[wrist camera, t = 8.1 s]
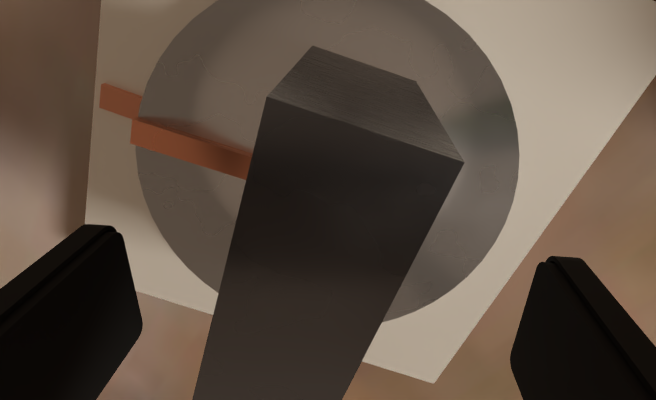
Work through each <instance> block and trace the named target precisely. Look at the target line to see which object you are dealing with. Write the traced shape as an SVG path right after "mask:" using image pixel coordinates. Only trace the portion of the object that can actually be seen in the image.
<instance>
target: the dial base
mask: <svg viewBox="0 0 656 400" xmlns="http://www.w3.org/2000/svg"><path fill="white" fill-rule="evenodd" d="M216 1H218V0H101V9H100V23H99V37H98V50H97V64H96V78H95V91H94V105H93V118H92V132H91V146H90V159H89V173H88V186H87V200H86V214H85V224H96V225H110V226H113V227H114V228H115V229H116V231H117V232H119V233H121V234H122V236H123V238H124V242H125V247H126V251H127V256H128V260H129V264H130V269H131V273H132V278H133V282H134V286H135V291H138V292H141V293H144V294H147V295H151V296H154V297H157V298H160V299H163V300H167V301H170V302H173V303H176V304H179V305H183V306H186V307H189V308H192V309H196V310H199V311H202V312H205V313H208V314H212V315H213V314H214V310H215V306H216V301H217V297H218V293H217V292H216V291H215V290H213V289H212V288H211V287H209V286H208V285H207V284H205V283H204V282H203V281H202V280H200V279H199V278H198V277H197V276H196V275H195V274H194V273H193V272H192V271H191V270H189V269H188V268H187V267H186V265H185V264H184V263H183V262H182V261H181V260H180V259H179V258H178V256H177V255H176V254H175V253H174V252H173V250H172V249H171V247H170V246H169V245H168V243H167V242H166V240H165V239H164V238H163V236H162V235H161V233H160V231H159V229H158V227H157V225H156V224H155V222H154V220H153V218H152V216H151V214H150V211H149V209H148V206H147V203H146V201H145V198H144V196H143V192H142V188H141V184H140V180H139V176H138V170H137V161H136V152H135V149H136V145H133V144H130V138H131V127H132V119H133V118H135V117H138V114H139V108H140V103H141V100H142V97H143V94H144V91H145V88H146V85H147V82H148V80H149V78H150V76H151V74H152V72H153V70H154V68H155V66H156V64H157V62H158V60H159V58H160V57H161V55H162V54H163V53H164V51H165V50H166V48H167V47H168V46H169V44H170V43H171V42H172V40H173V39H174V37H175V36H176V35H177V34H178V33H179V32H180V31H181V30H182V29H183V28H184V27H185V26H186V25H187V24H188V23H189V22H190V21H191V20H192V19H193V18H194V17H196V16H197V15H198V14H200V13H201V12H202V11H204V10H205V9H207V8H208V7H209V6H211V5H212V4H213V3H215V2H216ZM425 1H427V2H428V3H430V4H431V5H433V6H435V7H436V8H438V9H439V10H441V11H442V12H444V13H445V14H447V15H448V16H449V17H450V18H451V19H452V20H453V21H455V22H456V23H457V24H458V25H459V26H460V27H461V28H462V29H464V30H465V31H466V32H467V33H468V34H469V35H470V36H471V38H472V39H473V40H474V41H475V42H476V44H477V45H478V46H479V47H480V48H481V50H482V51H483V52H484V53H485V54H486V56H487V57H488V59H489V60H490V62H491V64H492V65H493V67H494V69H495V70H496V72H497V74H498V75H499V77H500V79H501V81H502V83H503V85H504V88H505V90H506V93H507V95H508V98H509V100H510V103H511V105H512V109H513V113H514V118H515V122H516V126H517V131H518V142H519V154H520V156H519V172H518V181H517V186H516V191H515V196H514V200H513V204H512V206H511V209H510V212H509V215H508V217H507V220H506V223H505V225H504V227H503V229H502V231H501V232H500V234H499V236H498V238H497V240H496V242H495V244H494V245H493V246H492V248H491V249H490V251H489V252H488V253H487V255H486V256H485V258H484V259H483V260H482V262H481V263H480V264H479V265H478V266H477V267H476V268H475V269H474V270H473V271H472V272H471V273H470V275H469V276H468V277H467V278H465V279H464V280H463V281H462V282H461V283H459V284H458V285H457V286H456V287H455V288H454V289H452V290H451V291H450V292H448V293H447V294H445V295H444V296H442V297H441V298H439V299H438V300H436V301H435V302H433V303H431V304H429V305H427V306H425V307H423V308H421V309H419V310H417V311H415V312H412V313H410V314H407V315H405V316H402V317H399V318H397V319H393V320H389V321H386V322H382V323H381V325H380V327H379V329H378V331H377V333H376V335H375V337H374V339H373V340H372V342H371V344H370V346H369V348H368V350H367V352H366V354H365V356H364V358H363V360H362V361H363V362H366V363H369V364H372V365H375V366H379V367H382V368H385V369H388V370H391V371H395V372H398V373H401V374H404V375H408V376H411V377H414V378H417V379H420V380H424V381H427V382H430V383H433V384H434V383H435V381H436V380H437V378H438V377H439V376H440V374H441V373H442V372H443V370H444V369H445V367H446V366H447V365H448V363H449V362H450V360H451V359H452V358H453V356H454V355H455V353H456V352H457V351H458V349H459V348H460V346H461V345H462V344H463V342H464V341H465V340H466V338H467V337H468V335H469V334H470V333H471V331H472V330H473V328H474V327H475V326H476V324H477V323H478V321H479V320H480V319H481V317H482V316H483V315H484V313H485V312H486V310H487V309H488V308H489V306H490V305H491V303H492V302H493V301H494V299H495V298H496V296H497V295H498V294H499V292H500V291H501V289H502V288H503V287H504V285H505V284H506V283H507V281H508V280H509V278H510V277H511V276H512V274H513V273H514V271H515V270H516V269H517V267H518V266H519V264H520V263H521V262H522V260H523V259H524V258H525V256H526V255H527V253H528V252H529V251H530V249H531V248H532V246H533V245H534V244H535V242H536V241H537V239H538V238H539V237H540V235H541V234H542V233H543V231H544V230H545V228H546V227H547V226H548V224H549V223H550V221H551V220H552V219H553V217H554V216H555V214H556V213H557V212H558V210H559V209H560V207H561V206H562V205H563V203H564V202H565V201H566V199H567V198H568V196H569V195H570V194H571V192H572V191H573V189H574V188H575V187H576V185H577V184H578V182H579V181H580V180H581V178H582V177H583V176H584V174H585V173H586V171H587V170H588V169H589V167H590V166H591V164H592V163H593V162H594V160H595V159H596V157H597V156H598V155H599V153H600V152H601V151H602V149H603V148H604V146H605V145H606V144H607V142H608V141H609V139H610V138H611V137H612V135H613V134H614V132H615V131H616V130H617V128H618V127H619V125H620V124H621V123H622V121H623V120H624V119H625V117H626V116H627V114H628V113H629V112H630V110H631V109H632V107H633V106H634V105H635V103H636V102H637V100H638V99H639V98H640V96H641V95H642V94H643V92H644V91H645V89H646V88H647V87H648V85H649V84H650V82H651V81H652V80H653V78H654V77H655V75H656V1H653V0H425Z"/></svg>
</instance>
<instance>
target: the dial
mask: <svg viewBox="0 0 656 400" xmlns="http://www.w3.org/2000/svg"><path fill="white" fill-rule="evenodd" d="M130 144H133V145H136V149H135V152H136V161H137V170H138V176H139V180H140V184H141V188H142V192H143V196H144V198H145V201H146V203H147V206H148V209H149V211H150V214H151V216H152V218H153V220H154V222H155V224H156V225H157V227H158V229H159V231H160V233H161V235H162V236H163V238H164V239H165V240H166V242H167V243H168V245H169V246H170V247H171V249H172V250H173V252H174V253H175V254H176V255H177V256H178V258H179V259H180V260H181V261H182V262H183V263H184V264H185V265H186V267H187V268H188V269H189V270H191V271H192V272H193V273H194V274H195V275H196V276H197V277H198V278H199V279H200V280H202V281H203V282H204V283H205V284H207V285H208V286H209V287H211V288H212V289H213V290H215V291H216V292H217V293H218V297H217V301H216V306H215V310H214V314H213V318H212V322H211V326H210V330H209V334H208V338H207V342H206V346H205V350H204V355H203V359H202V363H201V367H200V371H199V375H198V379H197V383H196V387H195V391H194V395H193V400H342V398H343V396H344V395H345V393H346V391H347V389H348V387H349V385H350V383H351V381H352V379H353V377H354V375H355V373H356V371H357V369H358V368H359V366H360V364H361V362H362V360H363V358H364V356H365V354H366V352H367V350H368V348H369V346H370V344H371V342H372V340H373V339H374V337H375V335H376V333H377V331H378V329H379V327H380V325H381V323H382V322H386V321H389V320H393V319H397V318H399V317H402V316H405V315H407V314H410V313H412V312H415V311H417V310H419V309H421V308H423V307H425V306H427V305H429V304H431V303H433V302H435V301H436V300H438V299H439V298H441V297H442V296H444V295H445V294H447V293H448V292H450V291H451V290H452V289H454V288H455V287H456V286H457V285H458V284H459V283H461V282H462V281H463V280H464V279H465V278H467V277H468V276H469V275H470V273H471V272H472V271H473V270H474V269H475V268H476V267H477V266H478V265H479V264H480V263H481V262H482V260H483V259H484V258H485V256H486V255H487V253H488V252H489V251H490V249H491V248H492V246H493V245H494V244H495V242H496V240H497V238H498V236H499V234H500V232H501V231H502V229H503V227H504V225H505V223H506V220H507V217H508V215H509V212H510V209H511V206H512V204H513V200H514V196H515V191H516V186H517V181H518V172H519V156H520V154H519V142H518V131H517V126H516V122H515V118H514V113H513V109H512V105H511V103H510V100H509V98H508V95H507V93H506V90H505V88H504V85H503V83H502V81H501V79H500V77H499V75H498V74H497V72H496V70H495V69H494V67H493V65H492V64H491V62H490V60H489V59H488V57H487V56H486V54H485V53H484V52H483V51H482V50H481V48H480V47H479V46H478V45H477V44H476V42H475V41H474V40H473V39H472V38H471V36H470V35H469V34H468V33H467V32H466V31H465V30H464V29H462V28H461V27H460V26H459V25H458V24H457V23H456V22H455V21H453V20H452V19H451V18H450V17H449V16H448V15H447V14H445V13H444V12H442V11H441V10H439V9H438V8H436V7H435V6H433V5H431V4H430V3H428V2H427V1H425V0H218V1H216V2H215V3H213V4H212V5H211V6H209V7H208V8H207V9H205V10H204V11H202V12H201V13H200V14H198V15H197V16H196V17H194V18H193V19H192V20H191V21H190V22H189V23H188V24H187V25H186V26H185V27H184V28H183V29H182V30H181V31H180V32H179V33H178V34H177V35H176V36H175V37H174V39H173V40H172V42H171V43H170V44H169V46H168V47H167V48H166V50H165V51H164V53H163V54H162V55H161V57H160V58H159V60H158V62H157V64H156V66H155V68H154V70H153V72H152V74H151V76H150V78H149V80H148V82H147V85H146V88H145V91H144V94H143V97H142V100H141V103H140V108H139V114H138V117H135V118H133V119H132V127H131V138H130Z"/></svg>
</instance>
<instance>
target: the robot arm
mask: <svg viewBox="0 0 656 400" xmlns="http://www.w3.org/2000/svg"><path fill="white" fill-rule="evenodd" d="M142 324H143V323H142V317H141V313H140V309H139V304H138V300H137V295H136V291H135V286H134V282H133V278H132V273H131V269H130V264H129V260H128V256H127V251H126V247H125V242H124V238H123V236H122V234H121V233H119V232H117V231H116V229H115V228H114V227H113V226H110V225H96V224H85V225H83V226H81V227H80V228H78V229H77V230H76V231H75V232H73V233H72V234H71V235H69V236H68V237H67V238H65V239H64V240H63V241H62V242H60V243H59V244H58V245H56V246H55V247H54V248H53V249H51V250H50V251H49V252H47V253H46V254H45V255H44V256H42V257H41V258H40V259H38V260H37V261H36V262H35V263H33V264H32V265H31V266H29V267H28V268H27V269H26V270H24V271H23V272H22V273H20V274H19V275H18V276H17V277H15V278H14V279H13V280H11V281H10V282H9V283H7V284H6V285H5V286H4V287H2V288H1V289H0V400H96V399H97V398H98V396H99V395H100V393H101V392H102V390H103V389H104V387H105V386H106V384H107V383H108V382H109V380H110V379H111V377H112V376H113V374H114V373H115V371H116V370H117V368H118V367H119V366H120V364H121V363H122V361H123V360H124V358H125V357H126V355H127V354H128V352H129V351H130V350H131V348H132V347H133V345H134V344H135V342H136V341H137V339H138V338H139V336H140V334H141V331H142ZM510 363H511V369H512V372H513V374H514V377H515V380H516V382H517V385H518V387H519V390H520V392H521V395H522V397H523V400H656V347H655V346H654V344H653V343H652V342H651V341H650V340H649V338H648V337H647V336H646V335H645V334H644V332H643V331H642V330H641V329H640V328H639V326H638V325H637V324H636V323H635V322H634V320H633V319H632V318H631V317H630V316H629V314H628V313H627V312H626V311H625V310H624V309H623V307H622V306H621V305H620V304H619V303H618V301H617V300H616V299H615V298H614V297H613V295H612V294H611V293H610V292H609V291H608V289H607V288H606V287H605V286H604V285H603V283H602V282H601V281H600V280H599V279H598V277H597V276H596V275H595V274H594V273H593V271H592V270H591V269H590V268H589V267H588V265H587V264H586V263H585V262H584V261H583V260H582V259H580V258H573V257H558V256H551V257H549V258H548V259H547V260H546V262H541V263H539V264H538V266H537V268H536V272H535V275H534V278H533V282H532V285H531V288H530V291H529V295H528V298H527V301H526V305H525V308H524V311H523V315H522V318H521V321H520V325H519V328H518V331H517V334H516V338H515V341H514V344H513V348H512V351H511V356H510Z"/></svg>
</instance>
